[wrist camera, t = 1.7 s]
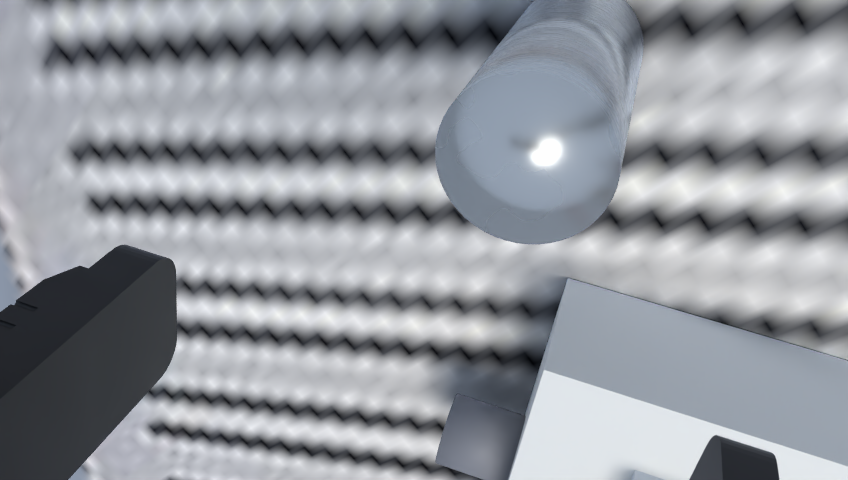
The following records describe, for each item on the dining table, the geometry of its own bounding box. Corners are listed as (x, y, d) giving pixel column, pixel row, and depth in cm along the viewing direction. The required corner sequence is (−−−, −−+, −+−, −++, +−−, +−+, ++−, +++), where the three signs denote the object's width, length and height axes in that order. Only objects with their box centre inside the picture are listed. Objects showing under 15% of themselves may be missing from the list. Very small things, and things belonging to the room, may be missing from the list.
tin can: (661, -1, 25) (645, 98, 17) (622, 123, 27) (591, 265, 19) (529, -31, 26) (452, 50, 18) (502, 92, 28) (422, 215, 20)
